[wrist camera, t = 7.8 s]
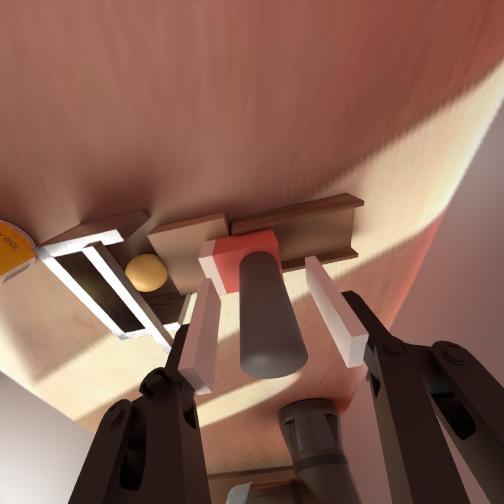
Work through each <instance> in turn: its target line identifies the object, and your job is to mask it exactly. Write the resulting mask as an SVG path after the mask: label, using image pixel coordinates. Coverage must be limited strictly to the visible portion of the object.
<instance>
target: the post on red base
mask: <svg viewBox="0 0 504 504" xmlns="http://www.w3.org/2000/svg"><path fill="white" fill-rule="evenodd" d="M198 260H199V262H200V264H201V266H202V269H203V271H204V273H205V276H206V278H211V279H212V281H213V284H214V286H215V288H216V291H217V293H218V296H219V295H223V294H228V293H233V292H238V291H239V298H240V365H241V368H242V370H243V371H244V372H245V373H247V374H248V375H251V376H253V377H257V378H264V379H272V378H279V377H284V376H287V375H290V374H292V373H294V372H296V371H298V370H299V369H301V368H302V367H303V366H304V365H305V363H306V361H307V359H308V354H307V350H306V347H305V344H304V341H303V338H302V335H301V332H300V329H299V326H298V323H297V320H296V317H295V314H294V311H293V308H292V305H291V302H290V299H289V296H288V293H287V290H286V287H285V284H284V280H283V273H282V267H281V260H280V254H279V248H278V241H277V239H276V236H275V234H274V232H273V229H272V227H269V228H264V229H260V230H255V231H251V232H246V233H242V234H237V235H233V236H228V237H224V238H219V239H215V240H210V241H206V242H204V243H203V246H202V249H201V252H200V255H199V258H198Z"/></svg>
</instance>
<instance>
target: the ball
mask: <svg viewBox="0 0 504 504" xmlns="http://www.w3.org/2000/svg"><path fill="white" fill-rule="evenodd" d="M125 274H126V275H127V277H128V278H129V280H130V281H131V282H132V284H133V285H134V286H135V288H136V289H137V290H138V291H143V292H148V291H153V290H156V289H158V288H159V287H161V286H162V285H163V284H164V283H165V281H166V280H167V277H168V272H167V270H166V268H165V266H164V265H163V263H162V261H161V259H160V258H159V256H157V255H154V254H142V255H139V256H137V257H135V258H133V259H132V260H131V261H130V262H129V263H128V265H127V267H126V270H125Z"/></svg>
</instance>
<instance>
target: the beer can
mask: <svg viewBox="0 0 504 504" xmlns="http://www.w3.org/2000/svg"><path fill="white" fill-rule="evenodd" d="M34 247H36V246H35V243H34V242H33V240H32V239H31V238H30V237H29V236H28V235H27V234H26V233H25V232H24V231H23V230H21V229H20V228H18V227H17V226H15V225H13V224H11V223H8V222H6V221H3V220H0V285H1V284H2V283H4V282H6V281H7V280H9V279H11V278H13V277H14V276H16V275H18V274H19V273H21V272H23V271H24V270H26V269H28V268H29V267H31V266H32V265H33V264H34V262H35V258H36V254H35V253H34V252H33V251H32V250H31V249H32V248H34Z"/></svg>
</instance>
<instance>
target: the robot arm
mask: <svg viewBox="0 0 504 504" xmlns="http://www.w3.org/2000/svg"><path fill="white" fill-rule="evenodd" d="M305 266H306V280H307V286H308V288H309V290H310V292H311V294H312V296H313V298H314V300H315V302H316V304H317V306H318V308H319V310H320V312H321V314H322V316H323V318H324V321H325V323H326V325H327V327H328V329H329V331H330V333H331V335H332V337H333V339H334V341H335V343H336V345H337V347H338V349H339V351H340V353H341V355H342V357H343V359H344V361H345V363H346V365H347V367H348V368H351V367H356V366H362V365H363V360H364V361H365V363H366V365H367V366H368V372H367V377H366V381H370V385H371V391H372V396H373V402H374V407H375V412H376V418H377V423H378V428H379V433H380V439H381V444H382V450H383V455H384V460H385V465H386V471H387V476H388V481H389V487H390V492H391V498H392V503H393V504H471V503H470V501H469V498H468V496H467V493H466V491H465V488H464V485H463V483H462V480H461V478H460V475H459V473H458V470H457V468H456V465H455V463H454V460H453V458H452V455H451V452H450V450H449V447H448V445H447V442H446V440H445V437H444V435H443V432H442V430H441V427H440V424H439V422H438V419H437V417H436V415H437V416H438V418H439V420H440V421H441V423H442V424H443V426H444V428H445V429H446V431H447V433H448V434H449V436H450V437H451V439H452V441H453V442H454V444H455V446H456V447H457V449H458V450H459V452H460V454H461V455H462V457H463V458H464V460H465V462H466V464H467V465H468V467H469V469H470V470H471V472H472V473H473V475H474V477H475V478H476V480H477V482H478V483H479V485H480V486H481V488H482V490H483V491H484V493H485V495H486V496H487V498H488V500H489V501H490V503H491V504H504V388H503V387H502V386H501V385H500V383H498V381H497V380H496V379H495V378H494V377H493V376H492V375H491V374H490V373H489V372H488V371H487V370H486V369H485V368H484V367H483V365H482V364H481V363H480V362H479V361H478V360H477V359H476V358H475V357H474V356H473V355H472V354H471V353H469V352H468V351H467V350H466V349H464V348H462V347H461V346H459V345H457V344H454V343H451V342H449V341H438V342H435V343H434V344H433V345H432V347H428V346H421V345H412V344H408V343H405V342H403V341H402V340H400V339H398V338H396V337H394V336H392V335H391V334H390V333H389V332H388V331H387V329H386V328H385V327H384V326H383V324H382V323H381V322H380V321H379V319H378V318H377V317H376V316H375V314H374V313H373V312H372V311H371V310H370V308H369V307H368V306H367V304H365V302H364V301H363V299H362V298H361V297H360V296H359V295H358V294H356V293H355V292H353V291H352V290H351V291H346V292H341V293H340V291H339V290H338V288H337V287H336V285H335V284H334V282H333V281H332V280H331V278H330V277H329V275H328V274H327V272H326V271H325V269H324V268H323V267H322V265H321V264H320V262H319V261H318V259H317V258H316V256H310V257H305ZM220 309H221V300H220V298H219V296H218V293H217V291H216V288H215V286H214V284H213V281H212V279H211V278H207V279H202V280H201V283H200V287H199V291H198V294H197V298H196V302H195V306H194V310H193V313H192V317H191V321H190V323H189V324H184V325H181V326H180V328H179V329H178V331H177V332H176V335H175V338H174V342H173V344H172V347H171V350H170V353H169V356H168V359H167V362H166V365H165V368H164V367H159V368H156V369H154V370H152V371H151V372H150V373H148V375H147V376H146V377H145V378H144V379H143V381H142V383H141V385H140V389H139V392H141V393H142V394H143V396H141V397H139V398H138V399H136V400H134V401H132V402H130V401H129V400H127V399H122V400H120V401H118V402H116V403H115V404H114V405H112V406H111V407H110V408H109V409H108V411H107V412H106V413H105V414H104V416H103V418H102V420H101V422H100V425H99V427H98V430H97V432H96V435H95V437H94V440H93V442H92V444H91V447H90V450H89V452H88V454H87V457H86V459H85V463H84V465H83V467H82V470H81V472H80V475H79V477H78V479H77V482H76V484H75V487H74V489H73V492H72V495H71V497H70V499H69V502H68V504H211V498H210V491H209V485H208V479H207V472H206V466H205V460H204V453H203V447H202V440H201V434H200V428H199V421H198V415H197V409H196V403H195V401H194V399H193V398H194V392H195V391H196V393H197V394H198V395H201V394H206V393H212V386H213V377H214V367H215V357H216V348H217V338H218V328H219V319H220ZM434 411H435V412H434ZM435 413H436V414H435ZM278 420H279V426H280V430H281V432H282V435H283V437H284V440H285V442H286V445H287V447H288V450H289V452H290V455H291V457H292V461H293V466H294V472H295V478H293V479H285V480H275V481H266V482H257V483H253V482H250V483H249V484H243V485H239V486H235V487H233V489H231V491H230V493H229V495H228V498H227V502H226V504H363V503H362V500H361V498H360V494H359V492H358V489H357V486H356V483H355V480H354V478H353V475H352V472H351V469H350V466H349V463H348V461H347V458H346V455H345V452H344V447H343V438H342V430H341V421H340V415H339V413H338V410H337V407H336V405H335V403H333V402H331V401H329V400H323V399H311V400H304V401H300V402H296V403H293V404H290V405H288V406H286V407H285V408H283V409H282V410H281V411H280V412H279V413H278Z"/></svg>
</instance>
